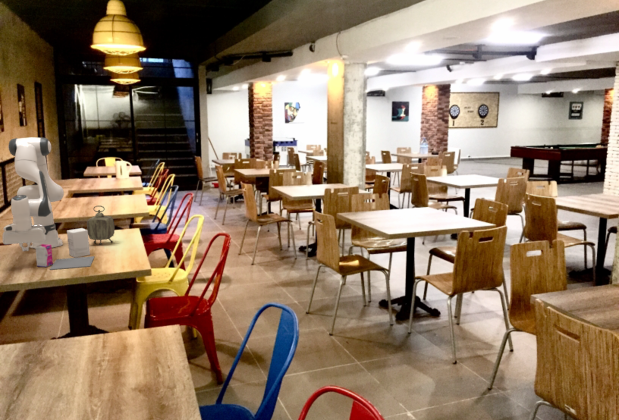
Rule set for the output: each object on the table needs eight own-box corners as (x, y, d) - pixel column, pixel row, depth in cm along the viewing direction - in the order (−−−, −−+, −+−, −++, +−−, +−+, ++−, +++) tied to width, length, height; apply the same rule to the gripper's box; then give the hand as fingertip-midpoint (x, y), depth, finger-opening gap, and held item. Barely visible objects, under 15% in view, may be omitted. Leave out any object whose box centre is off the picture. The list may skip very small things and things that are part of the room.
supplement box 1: (46, 267, 278) (44, 246, 276) (36, 266, 280) (34, 246, 277) (53, 264, 284) (51, 244, 282) (44, 263, 285) (42, 243, 283)
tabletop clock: (115, 242, 332) (112, 204, 327) (110, 245, 323) (107, 206, 318) (93, 242, 332) (89, 204, 327) (87, 246, 323) (83, 207, 318)
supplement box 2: (84, 252, 309) (82, 227, 306) (90, 254, 303) (88, 230, 300) (68, 255, 303) (66, 230, 300) (74, 257, 297) (72, 232, 294)
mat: (56, 260, 292) (56, 259, 292) (94, 257, 298) (94, 256, 298) (49, 270, 273) (49, 269, 273) (90, 266, 279) (90, 265, 279)
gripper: (45, 223, 281) (48, 247, 284) (3, 225, 275) (6, 250, 278) (42, 225, 275) (45, 250, 278) (0, 228, 269) (3, 253, 272)
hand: (25, 250), depth 278 cm, fingers closed
